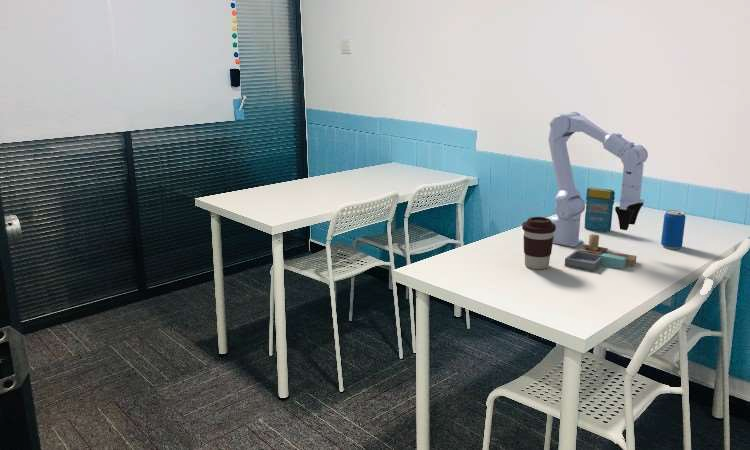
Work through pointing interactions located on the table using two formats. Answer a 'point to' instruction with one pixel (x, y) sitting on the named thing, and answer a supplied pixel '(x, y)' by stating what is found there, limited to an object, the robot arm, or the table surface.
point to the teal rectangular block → (613, 261)
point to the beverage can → (673, 229)
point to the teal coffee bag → (599, 209)
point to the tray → (583, 261)
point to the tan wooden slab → (629, 260)
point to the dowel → (593, 242)
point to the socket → (600, 251)
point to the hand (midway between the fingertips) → (627, 226)
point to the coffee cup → (538, 242)
